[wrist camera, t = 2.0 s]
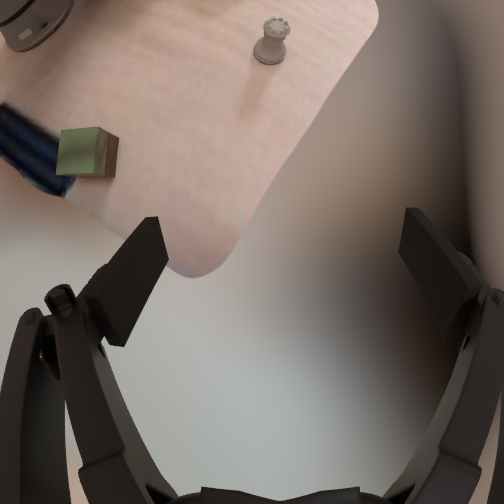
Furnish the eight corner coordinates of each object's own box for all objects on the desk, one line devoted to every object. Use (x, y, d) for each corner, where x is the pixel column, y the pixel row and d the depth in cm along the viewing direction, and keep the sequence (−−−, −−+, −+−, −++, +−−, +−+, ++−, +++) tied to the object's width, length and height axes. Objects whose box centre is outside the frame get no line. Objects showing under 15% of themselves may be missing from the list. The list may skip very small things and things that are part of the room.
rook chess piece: (264, 36, 33) (271, 6, 25) (290, 50, 34) (303, 22, 26) (247, 55, 34) (251, 26, 26) (274, 70, 34) (284, 43, 26)
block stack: (85, 139, 34) (61, 130, 27) (119, 137, 34) (98, 126, 27) (81, 177, 35) (55, 174, 28) (114, 177, 35) (92, 173, 28)
